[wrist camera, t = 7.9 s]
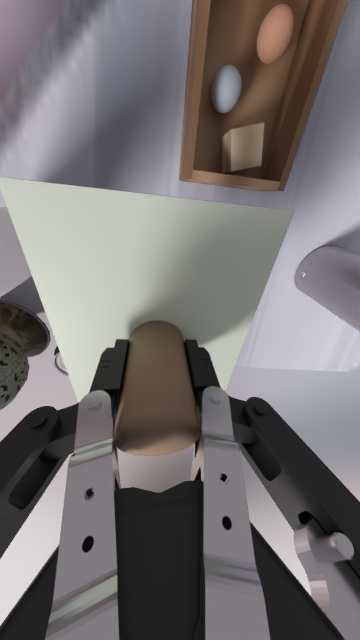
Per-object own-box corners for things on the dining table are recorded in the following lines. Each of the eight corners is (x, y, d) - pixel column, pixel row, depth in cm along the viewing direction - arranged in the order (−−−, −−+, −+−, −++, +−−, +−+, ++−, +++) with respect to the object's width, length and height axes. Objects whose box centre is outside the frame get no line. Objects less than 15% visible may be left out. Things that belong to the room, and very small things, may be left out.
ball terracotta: (286, 24, 19) (308, -4, 16) (274, 73, 20) (292, 56, 18) (257, 15, 18) (274, -14, 16) (247, 67, 20) (261, 49, 17)
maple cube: (250, 131, 23) (264, 122, 20) (248, 168, 25) (261, 165, 22) (221, 137, 23) (231, 129, 20) (222, 173, 25) (231, 171, 22)
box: (315, -8, 18) (375, -82, 13) (260, 190, 27) (283, 190, 22) (195, -45, 16) (213, -145, 12) (178, 180, 25) (184, 178, 20)
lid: (274, 208, 10) (465, 235, 4) (214, 389, 20) (243, 485, 13) (23, 179, 9) (-366, 145, 2) (88, 394, 18) (51, 508, 11)
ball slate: (238, 77, 20) (250, 61, 18) (231, 119, 22) (241, 109, 19) (210, 71, 20) (218, 53, 17) (205, 114, 22) (211, 104, 19)
